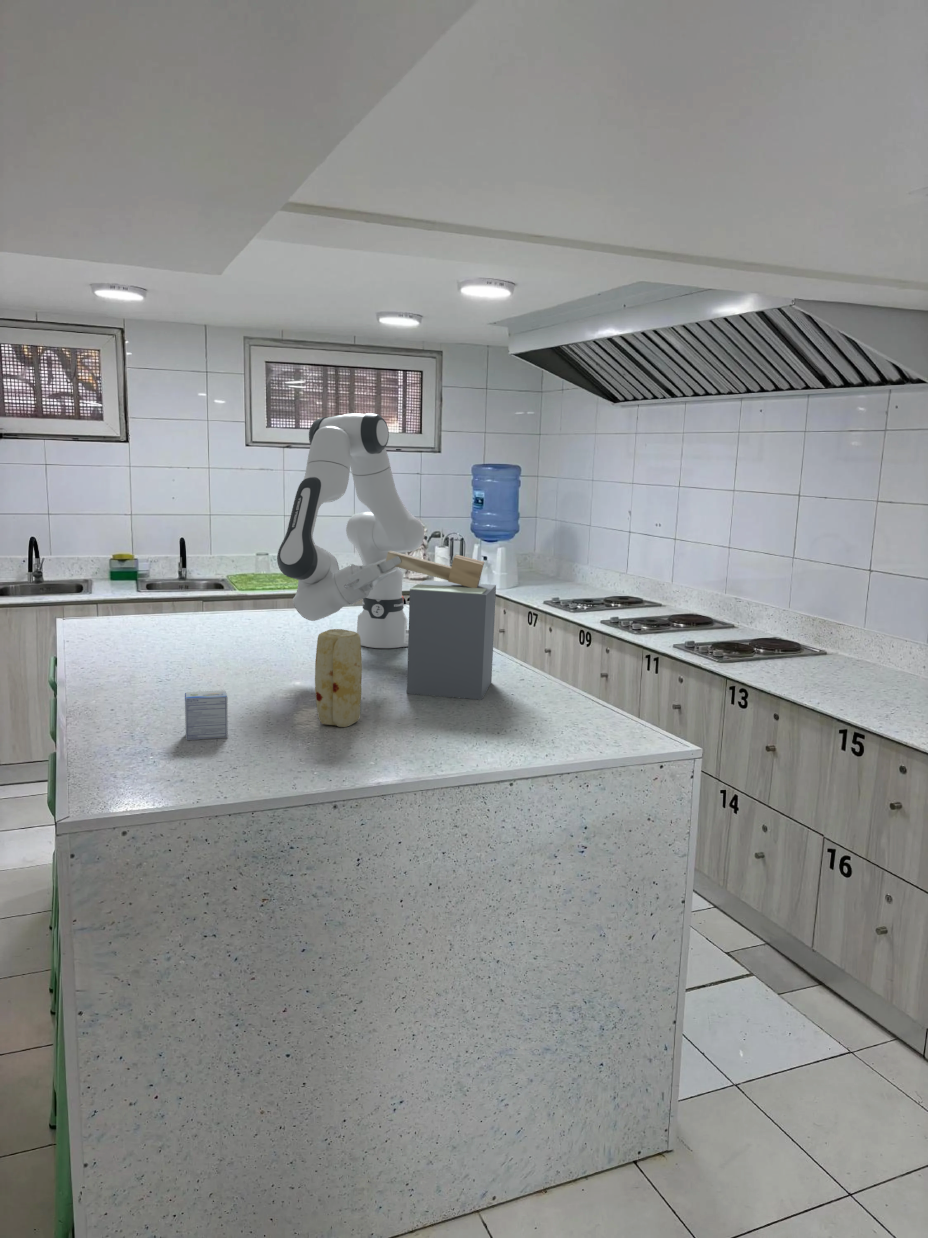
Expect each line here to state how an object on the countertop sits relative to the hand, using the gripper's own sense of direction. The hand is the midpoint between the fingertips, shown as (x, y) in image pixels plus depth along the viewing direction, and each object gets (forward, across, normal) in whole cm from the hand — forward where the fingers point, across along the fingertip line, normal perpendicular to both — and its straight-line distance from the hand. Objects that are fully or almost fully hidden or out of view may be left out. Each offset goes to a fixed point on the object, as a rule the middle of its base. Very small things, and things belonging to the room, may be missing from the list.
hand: (402, 557), depth 214 cm
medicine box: (-38, -53, +15) cm, 67 cm away
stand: (-4, -1, +34) cm, 34 cm away
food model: (-19, -38, +26) cm, 49 cm away
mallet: (+5, +1, +7) cm, 9 cm away
